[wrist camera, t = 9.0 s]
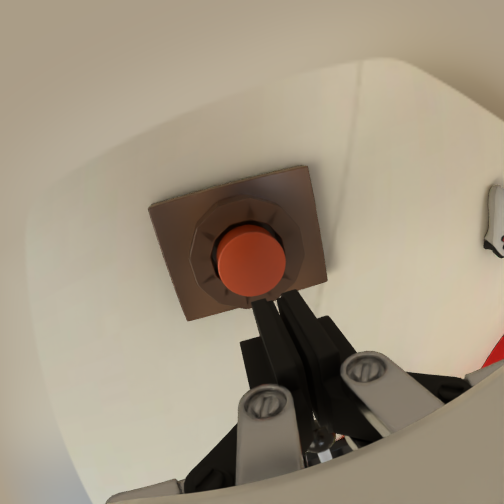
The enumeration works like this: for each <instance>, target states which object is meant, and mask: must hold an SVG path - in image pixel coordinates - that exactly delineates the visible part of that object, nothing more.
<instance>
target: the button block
mask: <svg viewBox="0 0 504 504" xmlns="http://www.w3.org/2000/svg"><path fill="white" fill-rule="evenodd" d="M148 211H149V214H150V218H151V221H152V224H153V227H154V230H155V233H156V236H157V239H158V242H159V245H160V248H161V251H162V254H163V257H164V260H165V263H166V266H167V269H168V272H169V274H170V277H171V280H172V283H173V285H174V288H175V291H176V294H177V296H178V299H179V302H180V304H181V307H182V309H183V312H184V315H185V317H186V320H187V321H192V320H195V319H199V318H203V317H207V316H211V315H214V314H218V313H222V312H225V311H229V310H233V309H236V308H243V309H250V308H252V305H251V302H253V301H256V300H260V299H263V298H266V300H267V301H270V300H273V301H276V300H277V298H279V297H280V296H281V293H284V292H287V291H290V290H294V289H296V290H297V291H298V290H301V289H305V288H308V287H311V286H314V285H317V284H321V283H324V282H327V281H328V280H327V273H326V266H325V259H324V253H323V247H322V240H321V234H320V228H319V223H318V217H317V211H316V206H315V200H314V195H313V190H312V185H311V180H310V175H309V170H308V166H303V165H300V166H295V167H291V168H286V169H282V170H278V171H273V172H269V173H265V174H261V175H257V176H253V177H249V178H245V179H241V180H237V181H233V182H229V183H225V184H222V185H218V186H214V187H210V188H207V189H203V190H200V191H196V192H193V193H189V194H186V195H182V196H179V197H175V198H172V199H169V200H165V201H162V202H159V203H156V204H152V205H151V206H150V207H149V208H148ZM242 225H256V226H260V227H262V228H264V229H266V230H267V231H269V232H270V233H271V234H272V236H273V237H274V238H275V239H276V240H277V241H278V243H279V244H280V245H281V247H282V248H283V251H284V253H285V258H286V266H285V271H284V274H283V276H282V278H281V280H280V281H279V283H278V284H277V285H276V286H275V287H274V288H273V289H271V290H270V291H268V292H266V293H264V294H261V295H258V296H242V295H239V294H236V293H234V292H232V291H231V290H230V289H228V288H227V287H226V286H225V285H224V283H223V282H222V280H221V278H220V276H219V272H218V266H217V258H216V254H217V248H218V245H219V243H220V241H221V240H222V238H223V237H224V236H225V235H226V234H227V233H228V232H229V231H230V230H232V229H234V228H236V227H238V226H242Z"/></svg>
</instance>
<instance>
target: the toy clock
mask: <svg viewBox="0 0 504 504" xmlns="http://www.w3.org/2000/svg"><path fill="white" fill-rule="evenodd" d="M502 359H504V336H503V337H502V338H501V340H500V341H499V342H498V344H497V345H496V347H495V348H494V350H493V351H492V353H491V354H490V356H489V357H488V359H487V360H486V362H485V364H484V365H483V367H482V368H484V367H486V366H489V365H491V364H493V363H496V362H498V361H500V360H502ZM482 368H481V369H482Z"/></svg>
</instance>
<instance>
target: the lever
mask: <svg viewBox="0 0 504 504" xmlns="http://www.w3.org/2000/svg"><path fill="white" fill-rule="evenodd" d="M314 423H315V430H312V431H313V436H314V441H313V442H312V444H311V445H310V447H309V448H308V450H307V451H309V452H311V453H317V454H318V456H319V459H320V461H321V463H323V462H326V461H329V460H332V459H333V458H332V455H331V452H330V450H329V448H330V447H331V446H332V445H333V444H334V442H335V439H336V433H334V432H333V433H331V434H329V432H328V430H327V428H326V426H324V427H321V428H320V427H319V425H318V422H317V420H314Z"/></svg>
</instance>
